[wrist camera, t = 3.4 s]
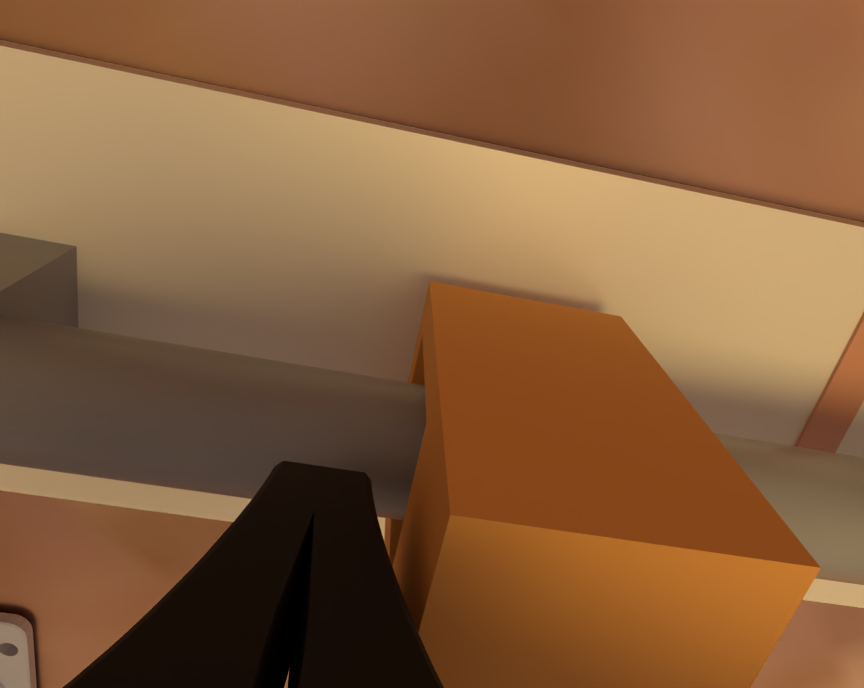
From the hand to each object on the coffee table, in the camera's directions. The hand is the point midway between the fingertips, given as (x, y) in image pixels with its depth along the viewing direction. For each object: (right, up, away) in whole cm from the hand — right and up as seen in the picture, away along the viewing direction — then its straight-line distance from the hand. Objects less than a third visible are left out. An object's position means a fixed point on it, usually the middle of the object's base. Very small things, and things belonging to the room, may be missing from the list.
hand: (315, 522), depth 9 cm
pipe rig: (+5, +2, +6) cm, 8 cm away
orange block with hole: (+3, +1, +5) cm, 6 cm away
